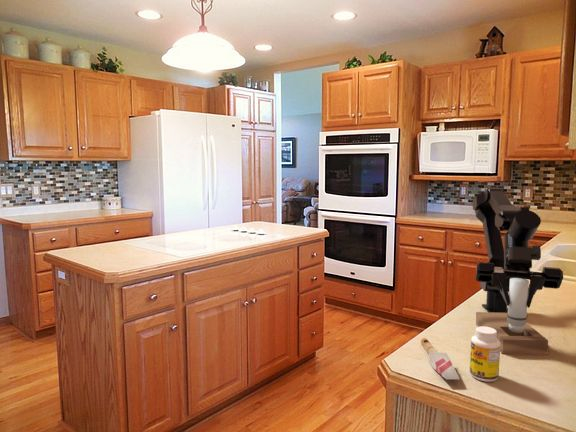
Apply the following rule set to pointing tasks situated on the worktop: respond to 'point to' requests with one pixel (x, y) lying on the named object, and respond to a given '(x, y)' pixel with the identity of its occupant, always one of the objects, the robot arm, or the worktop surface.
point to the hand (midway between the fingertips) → (518, 305)
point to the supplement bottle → (485, 354)
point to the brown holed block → (513, 335)
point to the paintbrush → (440, 361)
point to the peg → (517, 304)
